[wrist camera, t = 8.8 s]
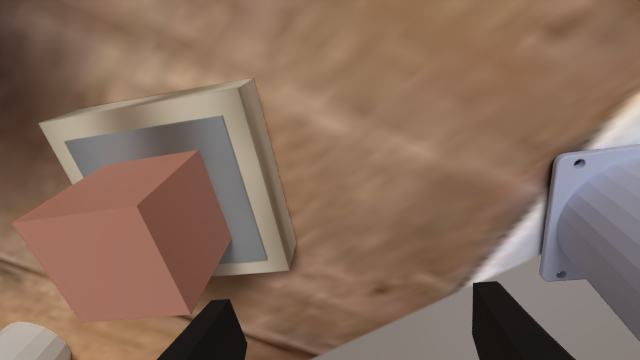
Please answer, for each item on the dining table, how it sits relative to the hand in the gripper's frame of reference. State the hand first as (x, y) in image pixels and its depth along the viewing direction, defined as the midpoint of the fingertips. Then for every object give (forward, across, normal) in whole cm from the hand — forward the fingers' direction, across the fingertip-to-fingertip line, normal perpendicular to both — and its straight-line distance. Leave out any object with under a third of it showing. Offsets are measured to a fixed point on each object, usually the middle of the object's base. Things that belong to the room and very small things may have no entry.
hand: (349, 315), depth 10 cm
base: (+9, +9, -1) cm, 13 cm away
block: (+7, +9, -1) cm, 11 cm away
